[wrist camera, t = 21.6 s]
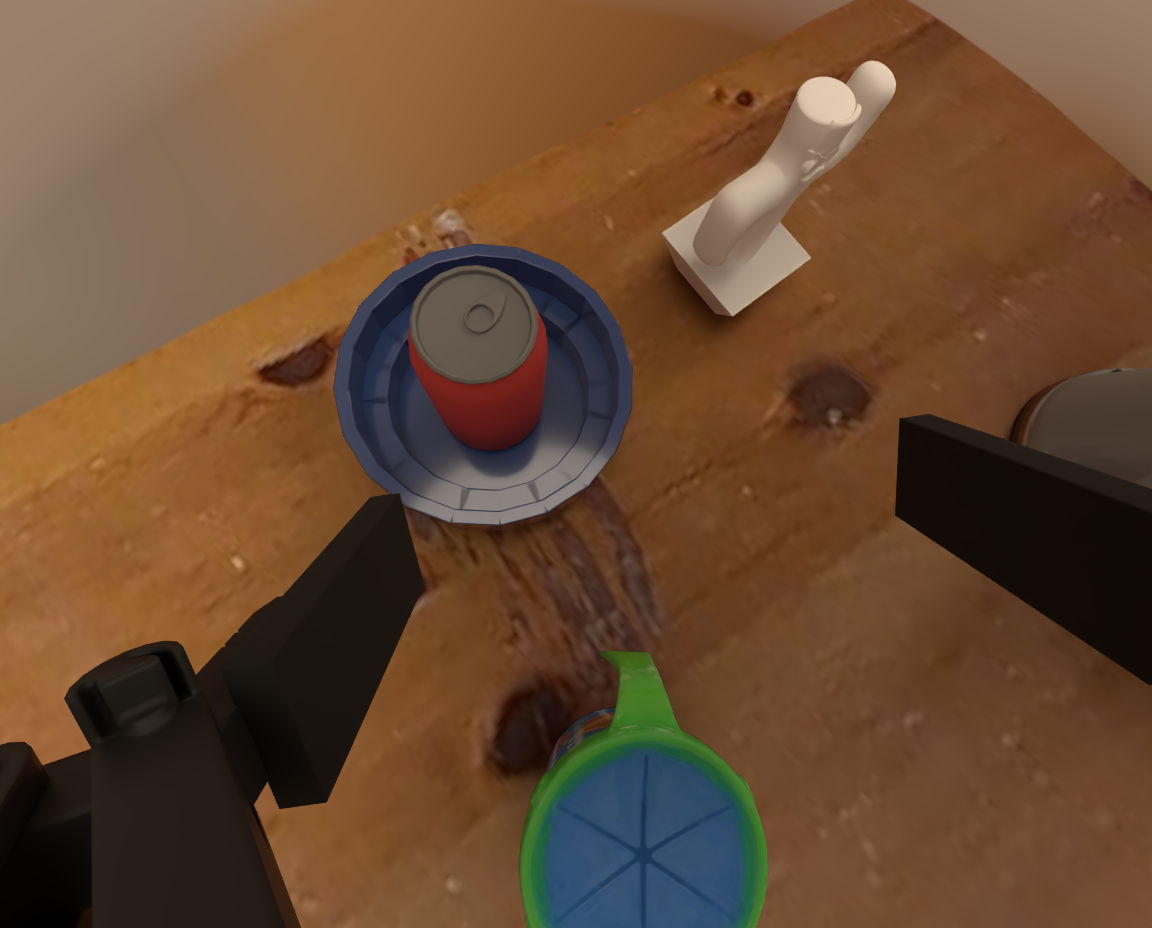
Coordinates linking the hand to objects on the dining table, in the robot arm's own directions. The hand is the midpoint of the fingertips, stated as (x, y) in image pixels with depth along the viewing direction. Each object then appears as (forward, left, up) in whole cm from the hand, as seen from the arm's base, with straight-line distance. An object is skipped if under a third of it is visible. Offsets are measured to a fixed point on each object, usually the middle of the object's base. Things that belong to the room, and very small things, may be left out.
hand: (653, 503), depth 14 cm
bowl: (+10, -3, -21) cm, 23 cm away
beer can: (+10, -3, -20) cm, 23 cm away
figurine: (+4, -21, -21) cm, 30 cm away
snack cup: (-10, +10, -21) cm, 25 cm away
